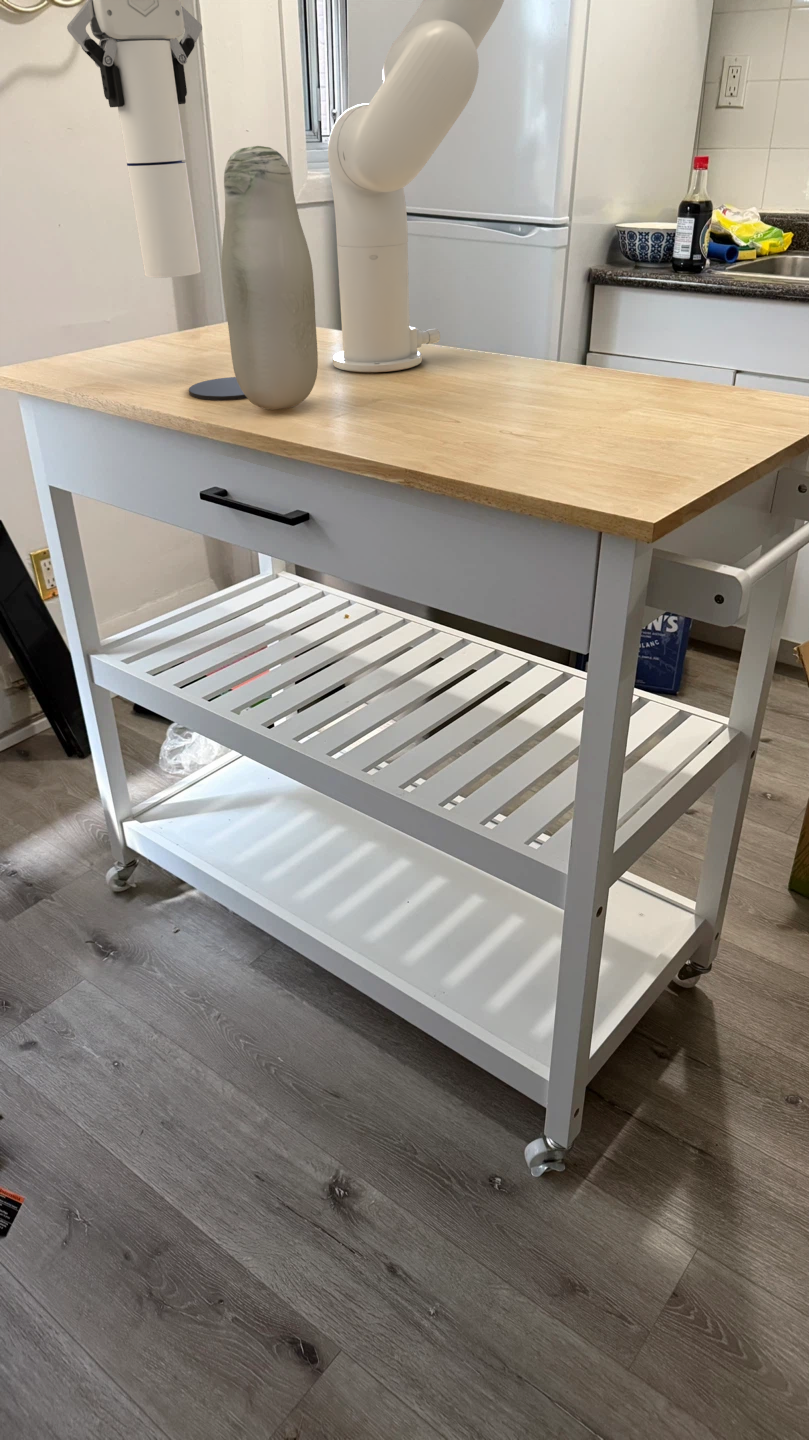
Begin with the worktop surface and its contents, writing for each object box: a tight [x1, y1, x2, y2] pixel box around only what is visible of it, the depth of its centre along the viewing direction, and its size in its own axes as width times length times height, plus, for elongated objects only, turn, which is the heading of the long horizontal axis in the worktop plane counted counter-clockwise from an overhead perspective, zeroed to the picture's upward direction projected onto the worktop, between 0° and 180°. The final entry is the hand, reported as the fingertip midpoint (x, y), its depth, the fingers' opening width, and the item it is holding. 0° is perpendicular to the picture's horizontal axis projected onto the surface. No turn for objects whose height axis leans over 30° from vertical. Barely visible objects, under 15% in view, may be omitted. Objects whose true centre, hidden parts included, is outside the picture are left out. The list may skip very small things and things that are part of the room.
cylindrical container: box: [114, 40, 202, 279], centre depth 126 cm, size 7×7×25 cm
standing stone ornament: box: [220, 145, 319, 411], centre depth 119 cm, size 10×10×28 cm
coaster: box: [188, 376, 248, 401], centre depth 134 cm, size 11×11×1 cm
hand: (147, 104), depth 123 cm, fingers closed on cylindrical container, 7 cm apart
